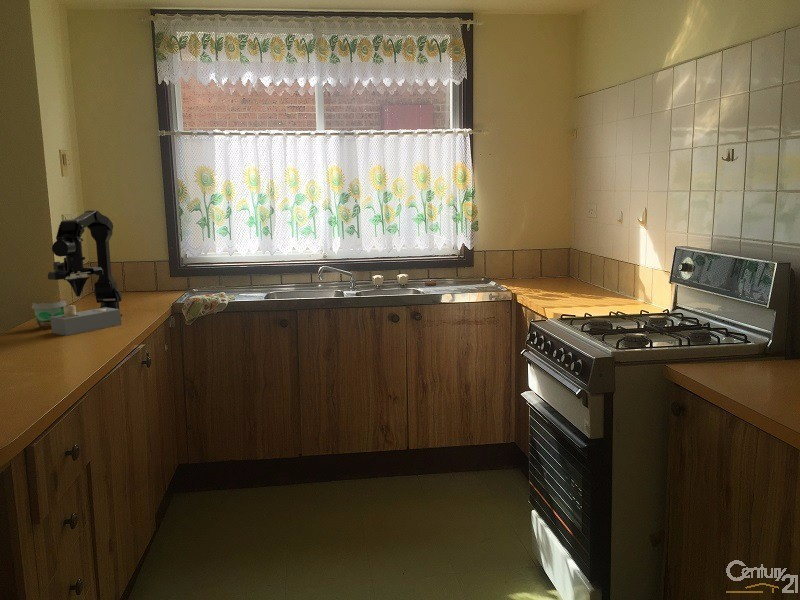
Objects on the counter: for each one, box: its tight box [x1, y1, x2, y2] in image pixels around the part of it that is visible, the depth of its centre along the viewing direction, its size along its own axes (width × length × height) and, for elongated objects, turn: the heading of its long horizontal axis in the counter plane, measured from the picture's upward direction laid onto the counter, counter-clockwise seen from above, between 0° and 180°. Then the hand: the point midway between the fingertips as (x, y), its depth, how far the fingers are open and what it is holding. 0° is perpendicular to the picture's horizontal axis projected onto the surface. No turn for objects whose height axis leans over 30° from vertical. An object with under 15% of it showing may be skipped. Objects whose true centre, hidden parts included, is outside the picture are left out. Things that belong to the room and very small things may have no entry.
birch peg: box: [63, 304, 77, 317], centre depth 263 cm, size 4×4×6 cm
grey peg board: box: [50, 307, 122, 337], centre depth 268 cm, size 22×10×6 cm, turn 143°
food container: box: [31, 299, 68, 330], centre depth 272 cm, size 12×6×10 cm, turn 105°
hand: (78, 296), depth 265 cm, fingers closed
